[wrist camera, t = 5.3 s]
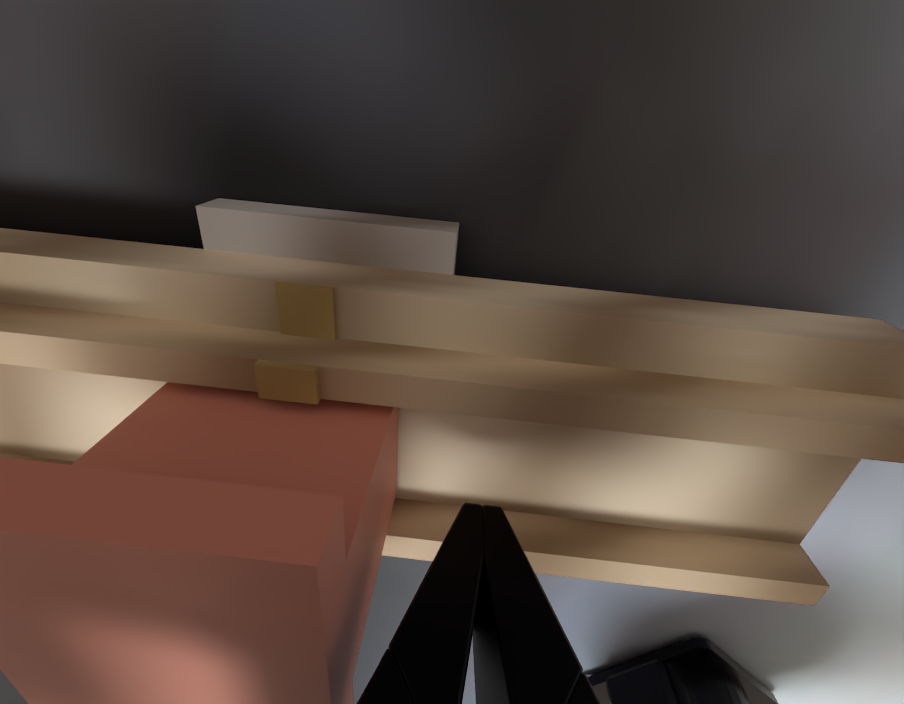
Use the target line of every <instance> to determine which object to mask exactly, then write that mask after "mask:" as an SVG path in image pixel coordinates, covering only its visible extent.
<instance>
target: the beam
mask: <svg viewBox="0 0 904 704" xmlns="http://www.w3.org/2000/svg"><path fill="white" fill-rule="evenodd" d="M195 207H196V212H197V217H198V222H199V227H200V232H201V237H202V242H203V247H204V249H198V248H189V247H179V246H169V245H160V244H150V243H141V242H131V241H121V240H112V239H102V238H93V237H83V236H73V235H64V234H54V233H45V232H35V231H25V230H16V229H6V228H0V457H6V458H14V459H23V460H32V461H41V462H49V463H58V464H67V465H72V464H73V463H74V462H75V461H76V460H78V459H79V458H80V457H81V456H82V455H83V454H84V453H86V452H87V451H88V450H89V449H90V448H91V447H93V446H94V445H95V444H96V443H97V442H98V441H100V440H101V439H102V438H103V437H104V436H105V435H107V434H108V433H109V432H110V431H111V430H112V429H114V428H115V427H116V426H117V425H118V424H119V423H120V422H122V421H123V420H124V419H125V418H126V417H127V416H129V415H130V414H131V413H132V412H133V411H134V410H136V409H137V408H138V407H139V406H140V405H141V404H143V403H144V402H145V401H146V400H147V399H148V398H150V397H151V396H152V395H153V394H154V393H155V392H156V391H158V390H159V389H160V388H161V387H162V386H163V385H165V384H166V383H167V382H171V383H181V384H190V385H199V386H208V387H217V388H226V389H235V390H244V391H253V392H258V395H259V398H262V399H271V400H280V401H289V402H298V403H307V404H316V405H317V404H318V403H319V401H320V399H326V400H335V401H344V402H353V403H362V404H371V405H380V406H389V407H398V408H399V412H398V445H397V478H396V496H395V500H394V504H393V508H392V513H391V517H390V521H389V526H388V530H387V534H386V538H385V543H384V547H383V551H382V555H384V556H393V557H401V558H410V559H418V560H427V561H433V560H434V558H435V556H436V554H437V552H438V550H439V548H440V546H441V544H442V542H443V541H444V539H445V537H446V535H447V533H448V531H449V529H450V527H451V525H452V523H453V521H454V519H455V518H456V516H457V514H458V512H459V510H460V508H461V506H462V504H463V503H464V502H473V503H480V504H482V505H483V504H490V505H498V506H500V507H502V509H503V510H504V512H505V514H506V516H507V518H508V520H509V522H510V524H511V526H512V528H513V530H514V532H515V534H516V536H517V538H518V540H519V542H520V544H521V546H522V548H523V550H524V552H525V554H526V556H527V558H528V560H529V562H530V564H531V566H532V568H533V570H534V572H535V573H538V574H547V575H555V576H564V577H573V578H581V579H590V580H598V581H607V582H615V583H624V584H632V585H641V586H650V587H658V588H667V589H675V590H684V591H692V592H701V593H710V594H718V595H727V596H735V597H744V598H752V599H761V600H770V601H778V602H787V603H795V604H804V605H812V606H814V605H815V604H816V603H817V601H818V600H819V599H820V598H821V597H822V595H823V594H824V593H825V592H826V591H827V589H828V588H829V587H830V586H829V585H828V583H827V582H826V581H825V579H824V578H823V576H822V575H821V574H820V572H819V571H818V569H817V568H816V567H815V565H814V564H813V563H812V561H811V560H810V558H809V557H808V556H807V554H806V553H805V551H804V550H803V549H802V547H801V546H800V543H801V541H802V540H803V539H804V537H805V536H806V535H807V533H808V532H809V530H810V529H811V528H812V526H813V525H814V523H815V522H816V521H817V519H818V518H819V516H820V515H821V514H822V512H823V511H824V510H825V508H826V507H827V505H828V504H829V503H830V501H831V500H832V498H833V497H834V496H835V494H836V493H837V492H838V490H839V489H840V487H841V486H842V485H843V483H844V482H845V480H846V479H847V478H848V476H849V475H850V474H851V472H852V471H853V469H854V468H855V467H856V465H857V464H858V462H859V461H860V460H861V458H862V459H871V460H880V461H889V462H898V463H904V332H903V331H901V330H900V329H898V328H896V327H894V326H892V325H890V324H888V323H887V322H885V321H883V320H880V319H871V318H861V317H852V316H842V315H832V314H823V313H813V312H804V311H794V310H784V309H775V308H765V307H755V306H746V305H736V304H727V303H717V302H707V301H698V300H688V299H679V298H669V297H659V296H650V295H640V294H631V293H621V292H611V291H602V290H592V289H583V288H573V287H563V286H554V285H544V284H535V283H525V282H515V281H506V280H496V279H486V278H477V277H467V276H458V275H455V265H456V254H457V243H458V232H459V223H458V222H449V221H439V220H429V219H419V218H409V217H399V216H390V215H380V214H370V213H360V212H350V211H341V210H331V209H321V208H311V207H301V206H291V205H282V204H272V203H262V202H252V201H242V200H232V199H223V198H218V199H215V200H212V201H209V202H206V203H203V204H200V205H197V206H195Z"/></svg>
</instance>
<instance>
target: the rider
mask: <svg viewBox="0 0 904 704" xmlns="http://www.w3.org/2000/svg"><path fill="white" fill-rule="evenodd" d="M398 412H399V408H398V407H389V406H380V405H371V404H362V403H353V402H344V401H335V400H326V399H320V401H319V403H318V404H317V405H316V404H307V403H298V402H289V401H280V400H271V399H262V398H259V395H258V392H253V391H244V390H235V389H226V388H217V387H208V386H199V385H190V384H181V383H171V382H167V383H166V384H165V385H163V386H162V387H161V388H160V389H159V390H158V391H156V392H155V393H154V394H153V395H152V396H151V397H150V398H148V399H147V400H146V401H145V402H144V403H143V404H141V405H140V406H139V407H138V408H137V409H136V410H134V411H133V412H132V413H131V414H130V415H129V416H127V417H126V418H125V419H124V420H123V421H122V422H120V423H119V424H118V425H117V426H116V427H115V428H114V429H112V430H111V431H110V432H109V433H108V434H107V435H105V436H104V437H103V438H102V439H101V440H100V441H98V442H97V443H96V444H95V445H94V446H93V447H91V448H90V449H89V450H88V451H87V452H86V453H84V454H83V455H82V456H81V457H80V458H79V459H78V460H76V461H75V462H74V463H73V464H72V465H67V464H58V463H49V462H41V461H32V460H23V459H14V458H6V457H0V670H1V671H2V672H3V673H4V675H5V676H6V677H7V678H8V679H9V681H10V682H11V683H12V684H13V686H14V687H15V688H16V689H17V690H18V692H19V693H20V694H21V695H22V697H23V698H24V699H25V700H26V701H27V703H28V704H354V698H353V675H354V670H355V666H356V662H357V658H358V653H359V649H360V645H361V641H362V636H363V632H364V628H365V623H366V619H367V615H368V611H369V606H370V602H371V598H372V594H373V589H374V585H375V581H376V577H377V572H378V568H379V564H380V560H381V555H382V551H383V547H384V543H385V538H386V534H387V530H388V526H389V521H390V517H391V513H392V508H393V504H394V500H395V496H396V478H397V445H398Z"/></svg>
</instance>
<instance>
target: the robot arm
mask: <svg viewBox="0 0 904 704" xmlns="http://www.w3.org/2000/svg"><path fill="white" fill-rule="evenodd" d="M472 635H473V654H474V673H475V692H476V704H778V702H777V700H776V698H775V696H774V694H773V693H771V692H770V691H769V690H768V689H767V688H765V687H764V686H763V685H762V684H761V683H759V682H758V681H757V680H756V679H755V678H753V677H752V676H751V675H750V674H749V673H747V672H746V671H745V670H744V669H743V668H741V667H740V666H739V665H738V664H737V663H735V662H734V661H733V660H732V659H731V658H729V657H728V656H727V655H726V654H725V653H723V652H722V651H721V650H720V649H719V648H717V647H716V646H715V645H714V644H712V643H711V642H710V641H709V640H707V639H705V638H701V637H696V638H691V639H688V640H686V641H683V642H680V643H678V644H675V645H672V646H670V647H667V648H664V649H662V650H659V651H656V652H654V653H651V654H648V655H646V656H643V657H640V658H638V659H635V660H632V661H630V662H627V663H624V664H622V665H619V666H616V667H614V668H611V669H608V670H606V671H603V672H600V673H598V674H595V675H592V676H590V677H587V676H586V674H585V673H582V671H583V668H582V666H581V664H580V662H579V660H578V658H577V656H576V654H575V652H574V650H573V648H572V646H571V644H570V642H569V640H568V638H567V636H566V634H565V632H564V630H563V628H562V626H561V624H560V622H559V620H558V618H557V616H556V614H555V612H554V610H553V608H552V606H551V604H550V602H549V600H548V598H547V596H546V594H545V592H544V590H543V588H542V586H541V584H540V582H539V580H538V578H537V576H536V574H535V572H534V570H533V568H532V566H531V564H530V562H529V560H528V558H527V556H526V554H525V552H524V550H523V548H522V546H521V544H520V542H519V540H518V538H517V536H516V534H515V532H514V530H513V528H512V526H511V524H510V522H509V520H508V518H507V516H506V514H505V512H504V510H503V509H502V507H500V506H498V505H490V504H483V505H482V504H480V503H473V502H464V503H463V504H462V506H461V508H460V510H459V512H458V514H457V516H456V518H455V519H454V521H453V523H452V525H451V527H450V529H449V531H448V533H447V535H446V537H445V539H444V541H443V542H442V544H441V546H440V548H439V550H438V552H437V554H436V556H435V558H434V560H433V562H432V564H431V566H430V567H429V569H428V571H427V573H426V575H425V577H424V579H423V581H422V583H421V585H420V587H419V589H418V591H417V592H416V594H415V596H414V598H413V600H412V602H411V604H410V606H409V608H408V610H407V612H406V614H405V615H404V617H403V619H402V621H401V623H400V625H399V627H398V629H397V631H396V633H395V635H394V637H393V639H392V640H391V642H390V644H389V649H387V650H386V651H385V653H384V655H383V657H382V659H381V661H380V663H379V665H378V667H377V669H376V670H375V672H374V674H373V676H372V678H371V679H370V681H369V683H368V685H367V687H366V688H365V690H364V692H363V694H362V696H361V697H360V699H359V701H358V702H357V704H462V699H463V692H464V686H465V680H466V673H467V667H468V660H469V654H470V648H471V641H472ZM581 673H582V674H581Z"/></svg>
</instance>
